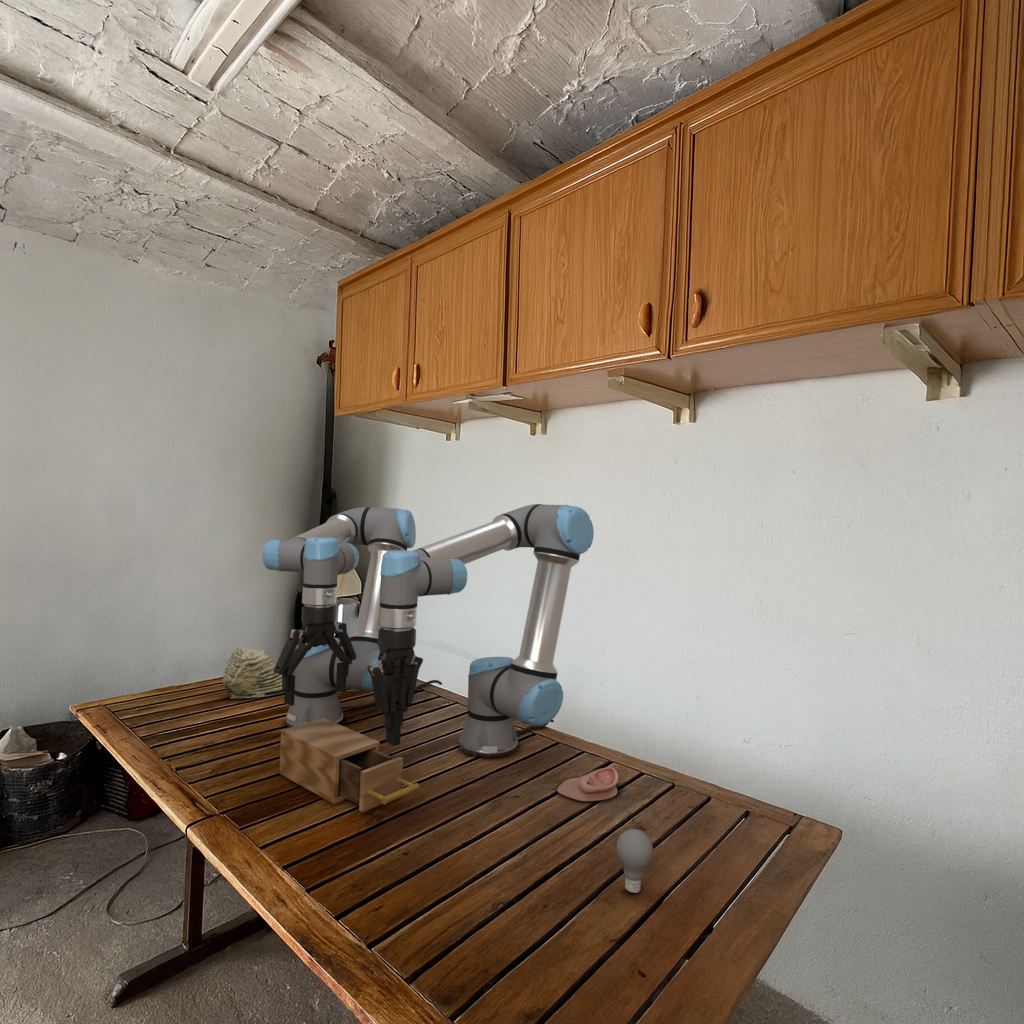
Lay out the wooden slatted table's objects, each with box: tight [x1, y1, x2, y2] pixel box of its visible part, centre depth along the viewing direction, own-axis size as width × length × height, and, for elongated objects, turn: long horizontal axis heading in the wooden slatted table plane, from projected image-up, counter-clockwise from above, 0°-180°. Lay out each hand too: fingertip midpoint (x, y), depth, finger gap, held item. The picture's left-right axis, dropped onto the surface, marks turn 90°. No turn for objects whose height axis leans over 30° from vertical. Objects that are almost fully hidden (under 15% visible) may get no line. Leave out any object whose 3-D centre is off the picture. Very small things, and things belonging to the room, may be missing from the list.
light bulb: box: [615, 828, 654, 894], centre depth 106 cm, size 6×6×10 cm
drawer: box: [338, 749, 420, 813], centre depth 134 cm, size 25×10×8 cm, turn 51°
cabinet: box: [278, 718, 381, 805], centre depth 142 cm, size 21×12×10 cm, turn 51°
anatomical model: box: [556, 766, 619, 802], centre depth 142 cm, size 13×4×12 cm
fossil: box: [222, 646, 285, 699], centre depth 198 cm, size 9×18×15 cm, turn 132°
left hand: (315, 697), depth 145 cm, fingers open, 13 cm apart
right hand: (392, 743), depth 128 cm, fingers closed
